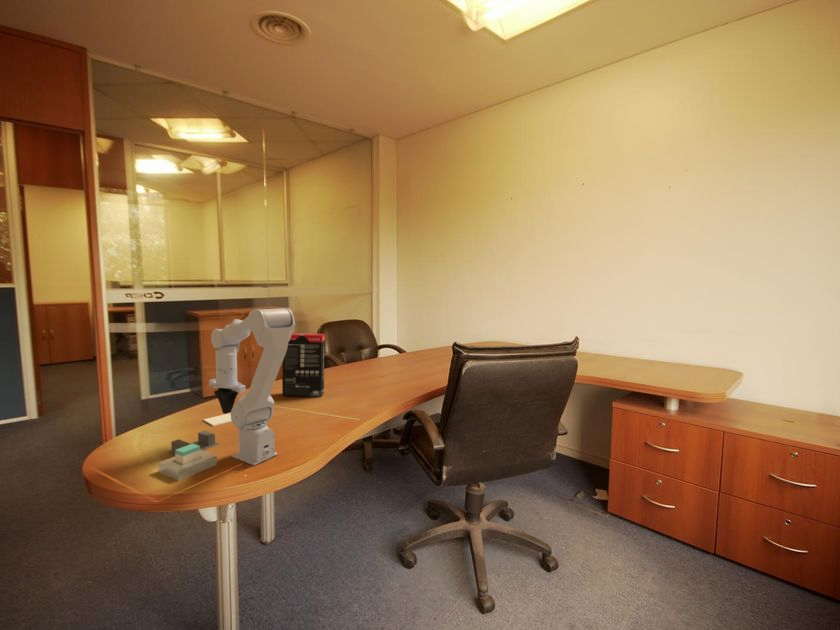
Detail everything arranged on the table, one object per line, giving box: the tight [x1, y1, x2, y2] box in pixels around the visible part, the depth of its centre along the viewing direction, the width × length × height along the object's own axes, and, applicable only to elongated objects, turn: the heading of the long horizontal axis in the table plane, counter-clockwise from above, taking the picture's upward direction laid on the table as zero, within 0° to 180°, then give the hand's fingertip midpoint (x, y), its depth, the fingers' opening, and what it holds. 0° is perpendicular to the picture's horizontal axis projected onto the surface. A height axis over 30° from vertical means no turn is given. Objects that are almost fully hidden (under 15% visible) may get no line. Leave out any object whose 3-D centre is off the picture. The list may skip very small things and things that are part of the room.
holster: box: [166, 430, 220, 456], centre depth 112 cm, size 8×11×4 cm
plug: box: [174, 444, 200, 465], centre depth 100 cm, size 3×4×6 cm
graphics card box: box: [281, 332, 326, 398], centre depth 168 cm, size 17×7×27 cm, turn 94°
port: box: [158, 449, 218, 482], centre depth 100 cm, size 9×10×3 cm
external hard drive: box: [202, 412, 232, 427], centre depth 137 cm, size 2×8×12 cm
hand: (227, 412), depth 117 cm, fingers closed
